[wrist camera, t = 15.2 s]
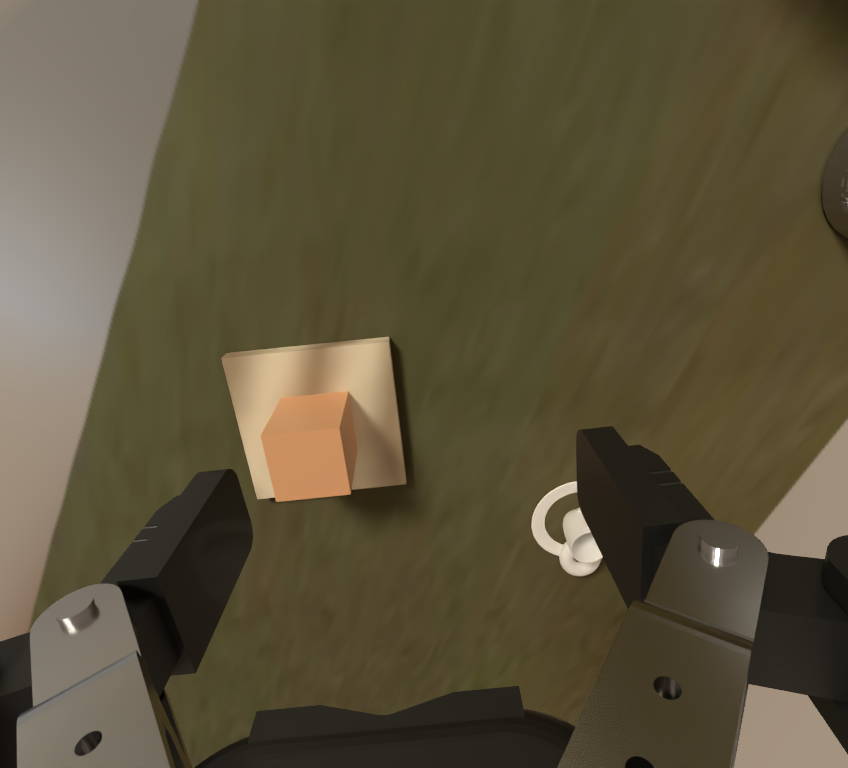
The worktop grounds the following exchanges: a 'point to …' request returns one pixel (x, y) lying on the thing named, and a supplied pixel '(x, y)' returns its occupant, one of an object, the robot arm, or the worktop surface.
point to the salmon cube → (311, 446)
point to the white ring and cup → (567, 535)
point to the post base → (317, 374)
